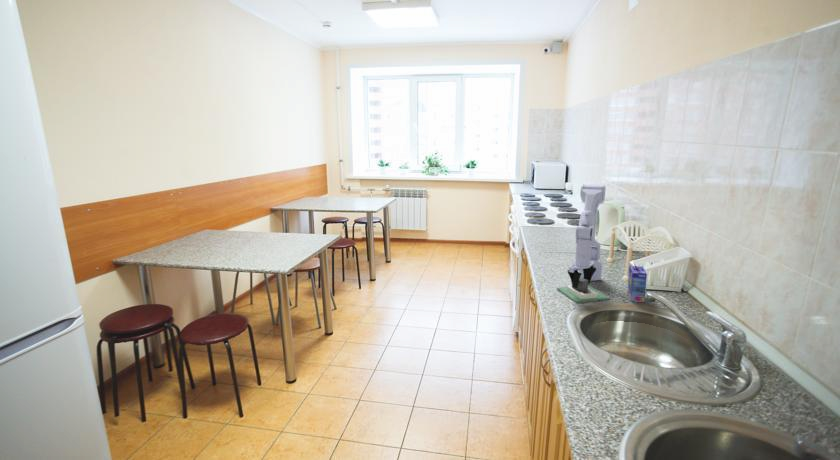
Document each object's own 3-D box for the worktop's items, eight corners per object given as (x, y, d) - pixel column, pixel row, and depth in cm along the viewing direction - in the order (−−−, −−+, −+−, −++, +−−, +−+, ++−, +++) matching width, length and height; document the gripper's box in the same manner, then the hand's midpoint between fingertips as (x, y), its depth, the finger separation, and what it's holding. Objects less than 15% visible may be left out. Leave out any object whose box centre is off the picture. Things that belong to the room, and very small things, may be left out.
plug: (577, 289, 173) (578, 276, 171) (589, 294, 168) (590, 280, 167) (571, 291, 171) (572, 278, 170) (583, 295, 166) (584, 282, 165)
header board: (587, 286, 178) (588, 281, 178) (609, 299, 164) (610, 293, 163) (556, 289, 176) (557, 283, 175) (576, 302, 161) (576, 296, 161)
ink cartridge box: (626, 292, 171) (629, 259, 168) (640, 293, 169) (644, 260, 166) (629, 301, 162) (633, 267, 159) (645, 302, 160) (648, 268, 157)
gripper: (586, 249, 173) (583, 279, 176) (563, 254, 165) (561, 286, 168) (600, 253, 167) (598, 283, 170) (577, 259, 159) (575, 291, 163)
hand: (580, 285), depth 169 cm, fingers open, 7 cm apart
